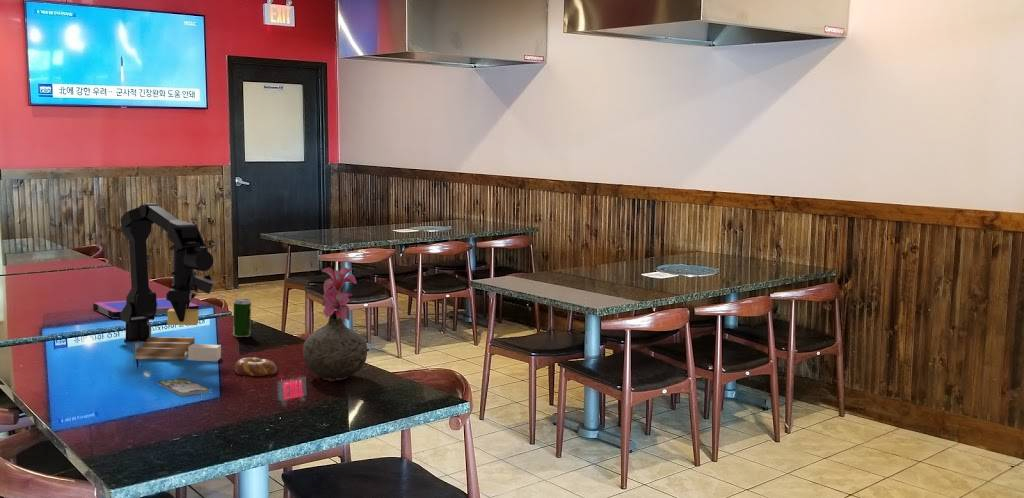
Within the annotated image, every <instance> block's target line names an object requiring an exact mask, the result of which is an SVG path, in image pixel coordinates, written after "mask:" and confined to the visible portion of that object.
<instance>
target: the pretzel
mask: <svg viewBox="0 0 1024 498" xmlns="http://www.w3.org/2000/svg"><path fill="white" fill-rule="evenodd" d="M234 371H235V373H236V374H237V375H240V376H241V375H242V376H251V377H253V376H257V377H262V376H271V375H275V374H276V373H277V371H278V368H277V366H276V364H275V362H274V361H273V360H270V359H267V358H262V359H261V358H260V357H251V356H250V357H249V356H248V357H243V358H239V359H238V360H236V362H235V364H234Z"/></svg>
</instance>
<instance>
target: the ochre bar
mask: <svg viewBox="0 0 1024 498" xmlns="http://www.w3.org/2000/svg"><path fill="white" fill-rule="evenodd" d="M199 312H200V308H199V309H186V312H185V317H184V321H183V322H180V321H179V319H178V317H177V315H176V313H175V310H174V309H169V310H168V312H167V315H166V316H167V317H166V318H167V323H166V324H167V326H198V324H199V320H200V319H199Z"/></svg>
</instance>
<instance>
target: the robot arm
mask: <svg viewBox="0 0 1024 498" xmlns="http://www.w3.org/2000/svg"><path fill="white" fill-rule="evenodd" d="M120 224H121V229H122V234H123V235H124V236H125V238H126V239H127V240H128V246H129V247H128V248H129V249H128V250H129V265H130V282H131V283H130V285H131V288H130V290H129V292H128V293H127V295H126V299H125V301H126V305H125V307H124V308H123V310H122V311H121V313H120V318H121V319H120V321H121V322H124V323H125V338H124V339H123V342H130V343H131V342H139V343H141V342H142V343H143V342H148V337H152V324H151V323H150V321H153V320H155V318H156V316H155V314H156V310H157V301H156V299H157V293H156V292H154V291H152V290H151V288H150V283H149V282H150V281H149V265H148V245H147V240H148V239H149V237H150V235H151V233H152V230H153V229H152V226H153V225H154V224H155V225H157V226H158V228H161V229H162V230H164V231H165V233H167V234H166V237H167V238H168V239H169V240H170V242H171V243H172V244H173V245H171V246H170V247H169V251H173V254H172V255H173V257H172V259H173V260H172V271H171V276H172V285H171V289H170V290H169V291H168V292H167V293H166V296H165V298H166V300H168V301H170V302H171V304H172V306H173V308H174V310H175V313H176V315H177V317H178V319H179V321H180V322H183V321H184V317H185V312H186V309H189V305H190V303H192V302H191V301H193V299H194V298H195V297H196V296H197V295H198V294H197V293H198V292H199V291H202V292H204V293H205V294H211V292H212V290H213V288H214V286H215V283H216V282H215V280H213V275H210V274H206V275H204V276H202V275H201V276H200V275H197V271H201V272H207V271H208V270H210V269H211V268H213V265H214V258H213V254H212V253H210V252H209V251H208V247H207V246H206V245H205V241H204V239H203V238H202V235H201V232H200V230H199V228H198V226H197V225H196V224H194V223H192V222H189V221H185V220H180V219H178V218H177V217H176V216H174V215H172V214H171V213H170V212H168V211H167V210H165V209H164V208H163V207H161V205H160V204H158V203H155V202H153V203H149V202H146V203H143V204H141V205H139V206H138V207H135V208H133V209H130V210H128V211H126V212H125V213H123V215H122V216H121V217H120ZM192 291H195V293H192Z"/></svg>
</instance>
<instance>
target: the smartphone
mask: <svg viewBox="0 0 1024 498" xmlns="http://www.w3.org/2000/svg"><path fill="white" fill-rule="evenodd" d="M157 385H159V386H161V387H163V388H165V389H166V390H169V391H171V392H172V393H175V394H176V395H177V396H178V395H179V396H180V397H186V396H191V395H199V394H206V393H208V392H209V387H206V386H204V385H201V384H199V383H197V382H194V381H193V380H190V379H187V378H186V377H185V378H183V377H182V378H174V379H168V380H160V381H157Z"/></svg>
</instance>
